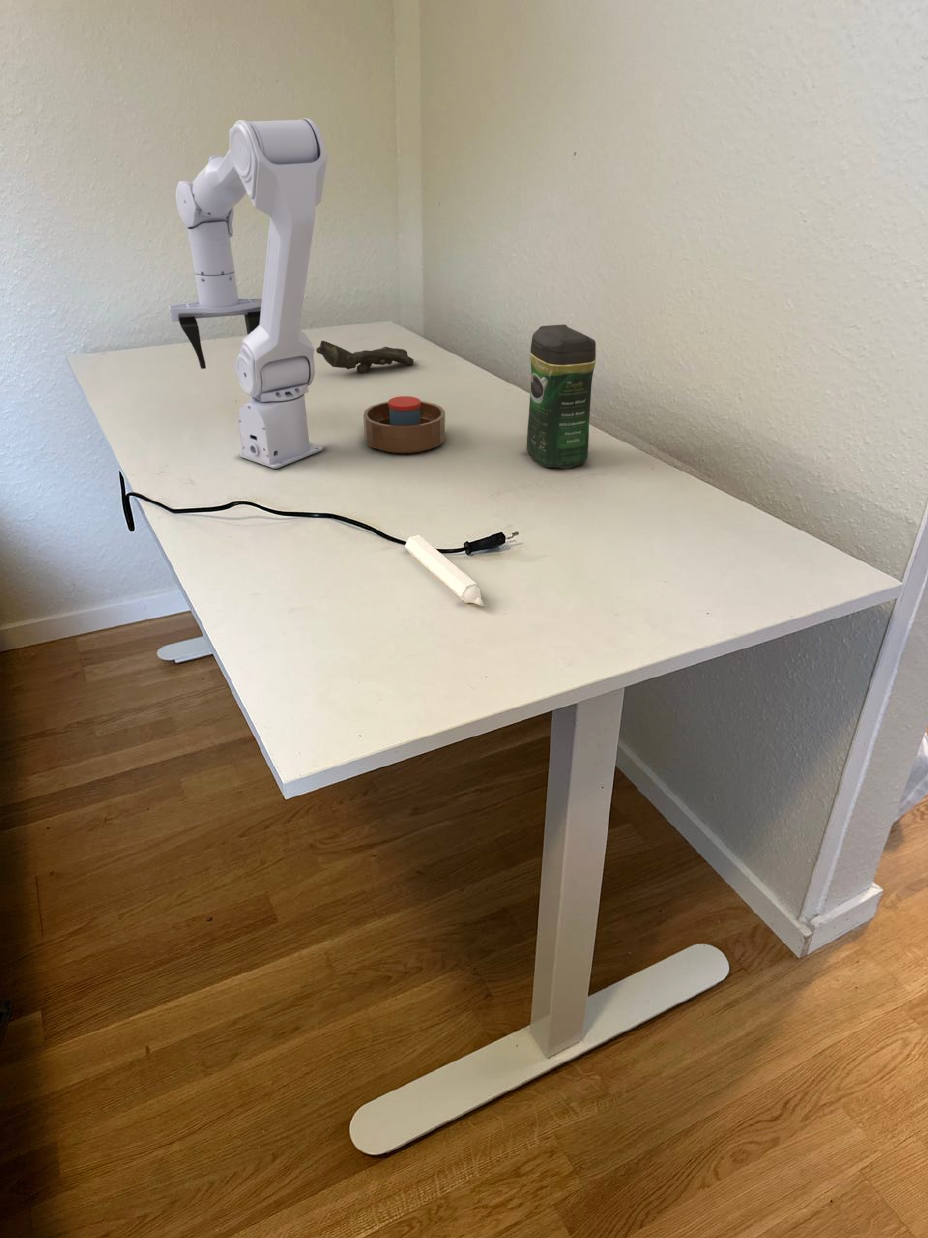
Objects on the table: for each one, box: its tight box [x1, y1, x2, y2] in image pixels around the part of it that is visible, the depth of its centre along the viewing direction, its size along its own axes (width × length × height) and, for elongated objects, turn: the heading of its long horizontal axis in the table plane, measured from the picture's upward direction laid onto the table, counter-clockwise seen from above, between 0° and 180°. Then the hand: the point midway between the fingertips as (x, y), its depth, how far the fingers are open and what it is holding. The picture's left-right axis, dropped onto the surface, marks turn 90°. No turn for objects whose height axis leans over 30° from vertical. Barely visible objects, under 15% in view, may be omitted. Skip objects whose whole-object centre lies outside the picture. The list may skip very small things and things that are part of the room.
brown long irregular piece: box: [315, 340, 415, 374], centre depth 161 cm, size 6×6×20 cm
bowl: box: [362, 400, 446, 454], centre depth 130 cm, size 12×12×4 cm
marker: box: [404, 534, 485, 608], centre depth 94 cm, size 3×2×16 cm
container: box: [387, 395, 422, 426], centre depth 129 cm, size 5×5×6 cm
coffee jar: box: [525, 324, 597, 469], centre depth 120 cm, size 10×8×19 cm
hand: (228, 364), depth 133 cm, fingers open, 7 cm apart
